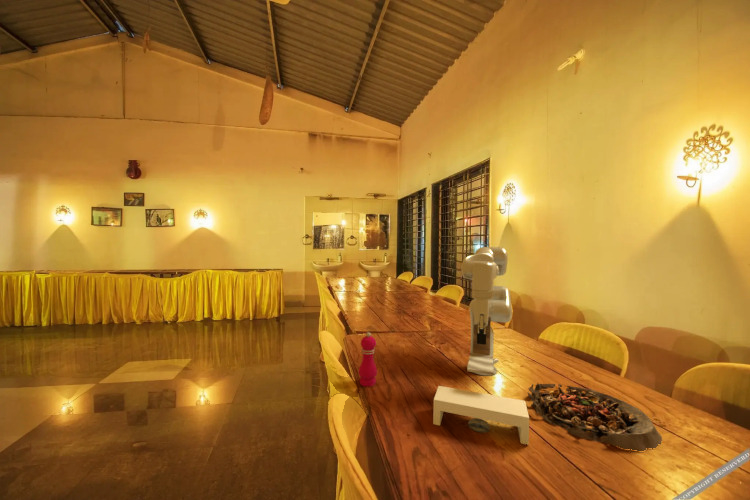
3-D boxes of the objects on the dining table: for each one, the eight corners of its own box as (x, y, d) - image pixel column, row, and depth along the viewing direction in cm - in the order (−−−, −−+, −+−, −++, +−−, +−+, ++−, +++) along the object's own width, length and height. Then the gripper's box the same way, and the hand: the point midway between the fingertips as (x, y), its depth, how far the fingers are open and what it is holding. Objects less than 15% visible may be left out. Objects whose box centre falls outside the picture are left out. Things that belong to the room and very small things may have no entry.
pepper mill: (374, 388, 114) (375, 335, 114) (356, 386, 116) (357, 334, 116) (378, 380, 121) (379, 330, 121) (360, 378, 123) (361, 329, 123)
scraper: (470, 352, 117) (471, 313, 117) (492, 355, 115) (493, 315, 115) (467, 371, 99) (468, 325, 99) (493, 375, 96) (494, 328, 96)
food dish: (505, 404, 107) (505, 381, 107) (567, 390, 120) (567, 370, 120) (618, 467, 74) (618, 435, 75) (686, 438, 88) (686, 411, 88)
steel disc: (476, 419, 95) (476, 416, 95) (493, 429, 90) (493, 425, 90) (464, 425, 91) (464, 421, 91) (480, 436, 86) (481, 432, 86)
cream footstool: (438, 408, 101) (438, 385, 101) (524, 425, 92) (524, 400, 92) (433, 424, 91) (433, 399, 91) (528, 445, 82) (529, 417, 82)
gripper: (473, 291, 124) (472, 336, 124) (471, 296, 108) (470, 347, 108) (492, 292, 121) (491, 338, 121) (493, 298, 106) (492, 350, 106)
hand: (481, 342), depth 115 cm, fingers closed on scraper, 3 cm apart
